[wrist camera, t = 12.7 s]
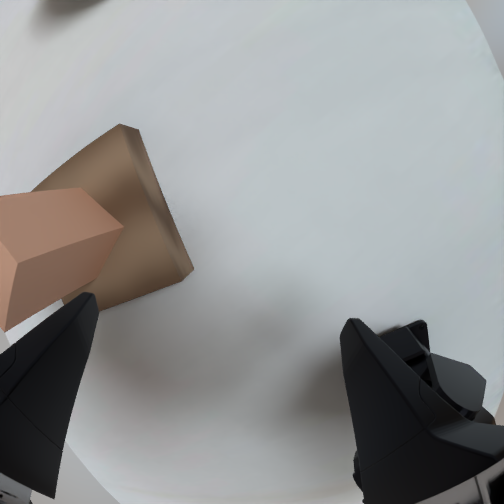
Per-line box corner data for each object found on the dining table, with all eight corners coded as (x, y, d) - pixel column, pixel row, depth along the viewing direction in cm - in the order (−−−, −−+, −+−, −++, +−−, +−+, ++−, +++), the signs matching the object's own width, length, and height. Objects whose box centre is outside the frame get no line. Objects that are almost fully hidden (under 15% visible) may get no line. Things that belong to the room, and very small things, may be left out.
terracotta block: (124, 226, 19) (17, 263, 9) (97, 278, 20) (4, 332, 11) (80, 187, 19) (-26, 200, 9) (57, 238, 20) (-37, 272, 10)
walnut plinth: (194, 269, 22) (181, 281, 19) (90, 308, 25) (72, 321, 22) (138, 129, 20) (119, 123, 17) (45, 195, 23) (24, 197, 20)
